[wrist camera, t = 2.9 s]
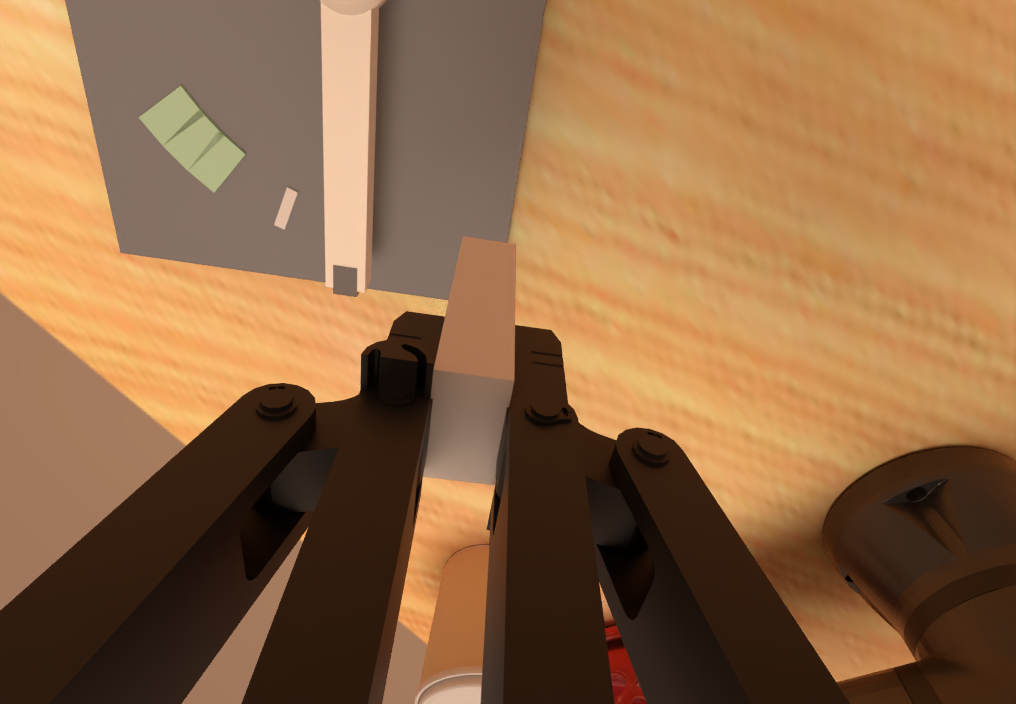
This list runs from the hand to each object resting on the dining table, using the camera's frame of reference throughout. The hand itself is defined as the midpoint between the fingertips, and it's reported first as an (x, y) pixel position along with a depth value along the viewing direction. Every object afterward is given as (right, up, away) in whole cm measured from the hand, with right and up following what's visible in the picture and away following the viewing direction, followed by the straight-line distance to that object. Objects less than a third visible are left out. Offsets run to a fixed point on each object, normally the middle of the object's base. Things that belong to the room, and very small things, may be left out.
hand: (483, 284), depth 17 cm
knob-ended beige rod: (-6, +8, +11) cm, 15 cm away
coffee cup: (-1, -21, +34) cm, 40 cm away
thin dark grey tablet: (-9, +11, +14) cm, 20 cm away
